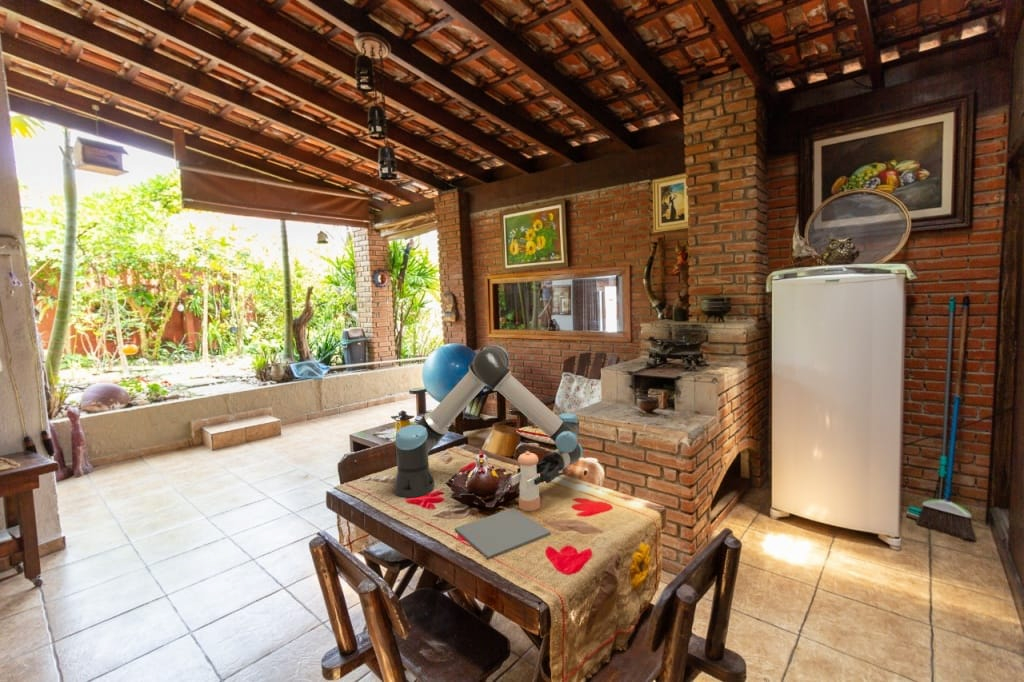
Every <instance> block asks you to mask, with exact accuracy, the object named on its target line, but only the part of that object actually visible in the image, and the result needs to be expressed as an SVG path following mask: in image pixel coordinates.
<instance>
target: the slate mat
mask: <svg viewBox="0 0 1024 682" xmlns="http://www.w3.org/2000/svg"><path fill="white" fill-rule="evenodd" d="M454 531H455V532H456V533H457V534H459V536H461V537H462V538H463V539H464V540H465V542H468V543H469V544H470V545H471V546H472V547H473V548H474V549H475V550H477V551H478V553H480V554H481V555H482V554H483V555H484V556H483V557H485V559H487V560H491V559H493V558H495V556H496V557H498V556H501V555H502V554H505V553H508V552H510V551H513V550H515V549H518V548H521V547H523V546H525V545H528V544H530V543H533V542H535V541H537V540H540V539H543V538H546V537H547V536H550V535H552V531H551V530H548V529H547V527H544V526H543V525H541V524H539V523H538V522H536V521H535V520H533V519H531V517H528V516H527V515H525V514H523V513H522V512H520V511H519V510H517V509H516V508H515V507H512V508H509V509H506V510H503V511H501V512H497V513H495V514H491V515H489V516H486V517H483V518H480V519H477V520H474V521H472V522H469V523H465V524H463V525H459V526H456V527H454ZM490 558H491V559H490Z"/></svg>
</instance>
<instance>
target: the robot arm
mask: <svg viewBox="0 0 1024 682" xmlns="http://www.w3.org/2000/svg"><path fill="white" fill-rule="evenodd" d="M509 364H510V358H509V354H508V353H507V350H505V349H504V348H503V347H501V346H500V345H499V346H498V345H488V346H486V347H485V348H484V349H481V350H480V351H478V352H477V353H476V355H475V356H474V358H473V361H472V362H471V363H469V364H468V372H467V373H466V374H465V375H464V376H463V377H462V378H461V380H459V381H458V383H457V384H456V385H455V386H454V387H453V388H452V389H451V391H449V392H448V393H447V395H446V396H445V397H444V398H443V399H442V400H441V402H440V403H439V404H438V405H437V406H436V407H435V408H434V409H433V411H431V412H425V414H424V415H423V416H422V417H421V418H419V420H418V421H417V422H416V423H415V424H409V425H406V426H403V427H401V428H399V429H398V430H397V431H396V434H395V441H394V442H395V449H396V451H395V452H396V467H397V473H396V475H395V481H394V484H393V493H394V494H395V495H396V496H398V497H403V498H416V497H420V496H424V495H426V494H429V493H430V492H432V491H433V490H434V489H435V479H434V477H433V474H432V471H431V470H430V464H429V452H430V451H431V450H432V449H433V448H435V447H436V446H437V445H438V444H439V443H440V441H441V440H442V438H444V437H445V435H446V434H447V433H448V427H449V425H451V423H452V422H453V421H455V419H456V418H457V417H458V416H459V415H460V414H461V413H462V412H463V411H464V409H465V408H466V407H467V406H468V405H469V404H470V403H471V402H472V401H473V400H474V398H476V396H477V395H478V394H479V393H480V392H481V391H482V390H483V389H484V388H485V386H486V387H489V389H491V390H492V391H494V392H495V391H496V392H499V394H500V395H502V396H503V397H504V398H505V399H506V400H507V401H509V403H511V404H512V405H513V406H514V407H515V408H516V409H517V410H519V412H521V413H522V414H523V415H524V416H525V417H527V419H528V420H529V421H531V422H532V423H533V424H534V425H535V426H536V427H537V428H539V429H540V430H541V431H542V432H543V434H545V435H546V436H547V437H548V438H549V439H550V440H551V441H552V442H553V443H555V446H556V449H555V450H553V451H551V452H550V453H547V454H546V455H545V456H543V458H542V460H541V461H538V463H537V464H536V468H537V475H536V476H534V477H532V478H531V479H529V480H528V481H527V489H530V488H532V487H534V486H535V485H537V484H538V485H539V484H543V483H544V482H545V483H546V484H550V483H551V482H552V481H553V480H555V479H556V478H558V477H560V476H562V475H563V474H564V472H563V470H564V469H566V468H568V467H569V466H571V465H572V464H575V463H577V462H578V461H579V460H580V459H581V458H582V456H583V454H584V450H583V447H582V445H581V444H580V443H579V429H578V428H579V425H578V424H579V422H578V416H577V414H574V413H567V412H566V413H560V414H559V415H558V416H557V415H556V414H555V413H554V412H553V411H552V410H551V409H550V408H549V407H548V406H546V405H545V404H544V403H543V402H542V401H541V400H540V399H539V398H538V397H536V395H534V394H533V393H532V392H530V390H529V389H527V388H526V387H525V386H524V385H523V384H522V383H521V382H520V381H518V379H517V378H515V376H513V375H512V371H511V370H510V369H509V367H508V366H509ZM520 477H521V471H520V467H518V468H517V473H516V474H514V475H512V476H511V478H510V479H511V486H515V485H517V484H518V483H520Z"/></svg>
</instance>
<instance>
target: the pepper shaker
mask: <svg viewBox="0 0 1024 682" xmlns="http://www.w3.org/2000/svg"><path fill="white" fill-rule="evenodd" d="M517 462H518V464H519V468H520V471H521V477H520V482H519V487H518V489H519V495H518V507H519V509H520V510H521V511H525V512H534V511H538V510H539V509H540V508H541V495H540V487H539V486H540V485H539V484H537V485H535V486H534V487H532V488H530V489H527V481H528V480H529V479H531V478H532V477H534V476H536V475H538V474H537V468H536V464H537V463H538V462H539V457H538V455H537V454H536V453H533V452H531V451H526V452H524V453H521V454H520V455H519V456H518V458H517Z"/></svg>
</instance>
